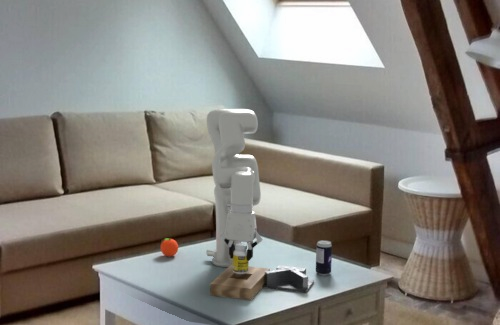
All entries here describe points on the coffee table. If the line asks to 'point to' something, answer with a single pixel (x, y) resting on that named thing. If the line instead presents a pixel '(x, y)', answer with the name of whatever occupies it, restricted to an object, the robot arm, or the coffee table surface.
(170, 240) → the clementine
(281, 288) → the v block
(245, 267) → the supplement bottle
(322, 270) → the beverage can
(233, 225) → the robot arm
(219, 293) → the wooden block with hole
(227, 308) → the coffee table surface
